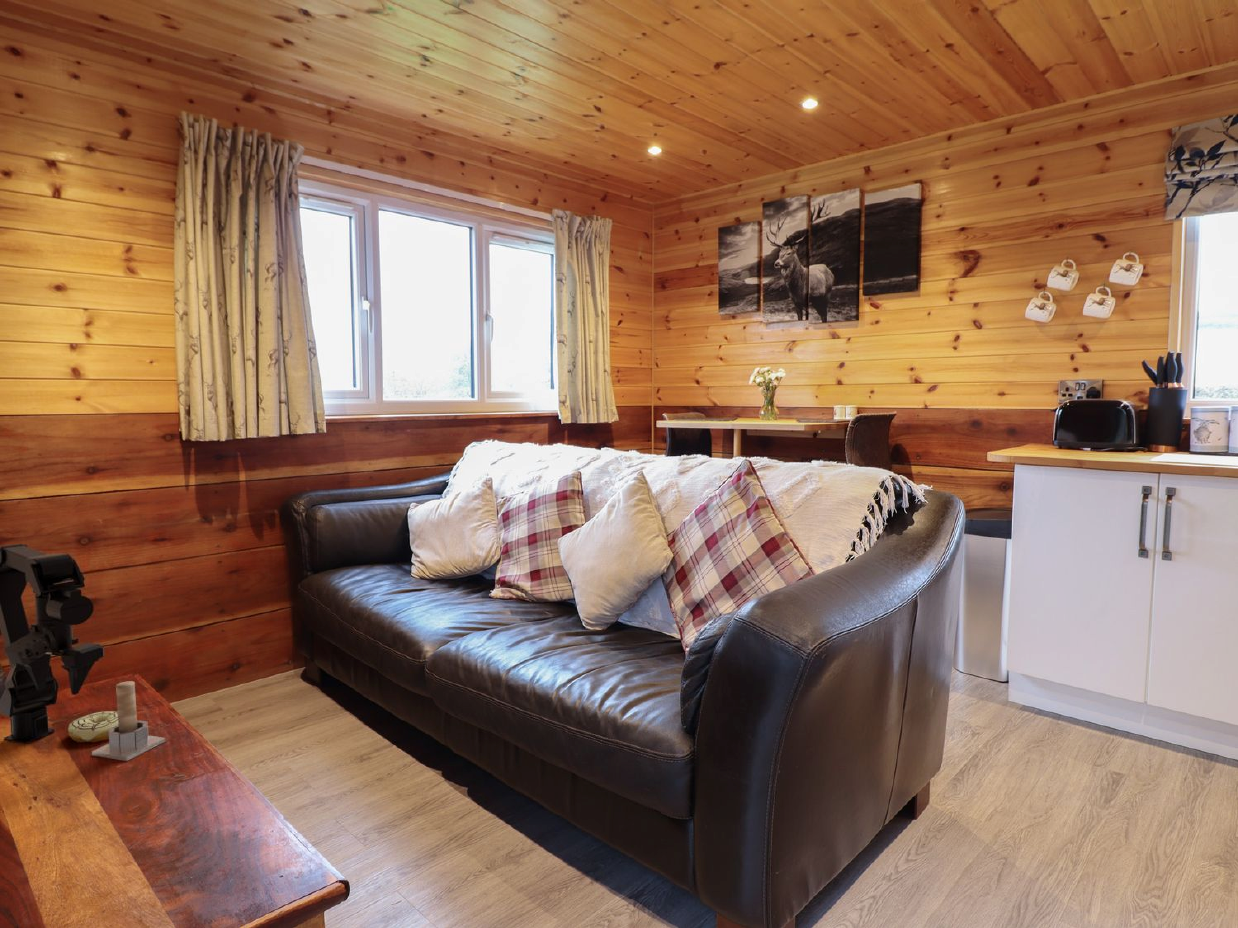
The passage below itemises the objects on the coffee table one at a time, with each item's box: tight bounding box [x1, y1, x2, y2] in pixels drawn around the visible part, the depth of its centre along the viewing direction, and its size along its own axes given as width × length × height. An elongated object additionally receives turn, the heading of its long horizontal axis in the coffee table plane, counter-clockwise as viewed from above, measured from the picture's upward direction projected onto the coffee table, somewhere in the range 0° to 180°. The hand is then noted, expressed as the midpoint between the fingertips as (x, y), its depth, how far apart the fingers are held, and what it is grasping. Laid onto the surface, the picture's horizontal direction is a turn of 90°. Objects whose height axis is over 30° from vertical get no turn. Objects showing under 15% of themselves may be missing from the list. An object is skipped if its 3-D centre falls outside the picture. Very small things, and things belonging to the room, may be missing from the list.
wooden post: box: [115, 680, 138, 733], centre depth 152 cm, size 3×3×13 cm
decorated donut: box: [67, 710, 118, 743], centre depth 159 cm, size 10×11×4 cm
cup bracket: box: [91, 719, 166, 762], centre depth 152 cm, size 9×9×4 cm
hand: (57, 691), depth 149 cm, fingers open, 9 cm apart
